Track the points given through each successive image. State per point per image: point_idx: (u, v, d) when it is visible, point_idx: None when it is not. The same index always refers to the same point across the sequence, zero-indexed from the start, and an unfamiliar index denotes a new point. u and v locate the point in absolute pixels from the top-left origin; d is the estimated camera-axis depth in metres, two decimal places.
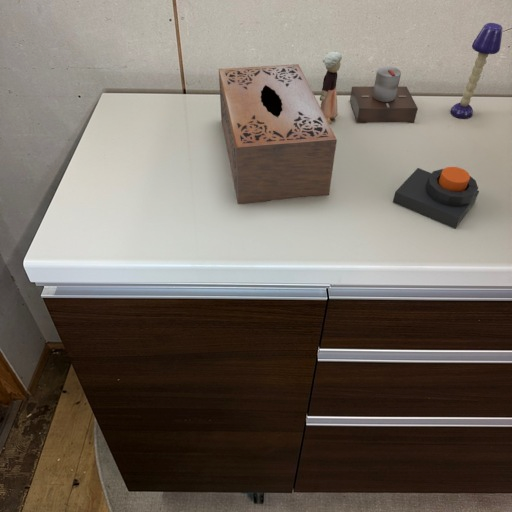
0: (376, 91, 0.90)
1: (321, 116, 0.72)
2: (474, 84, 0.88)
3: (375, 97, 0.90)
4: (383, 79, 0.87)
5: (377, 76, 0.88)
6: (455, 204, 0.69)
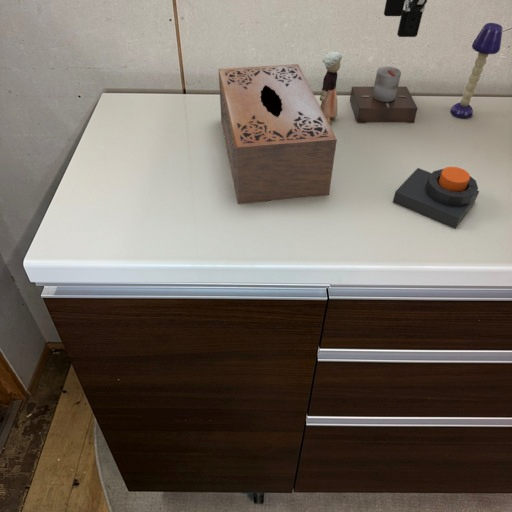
0: (376, 91, 0.90)
1: (321, 116, 0.72)
2: (474, 84, 0.88)
3: (375, 97, 0.90)
4: (383, 79, 0.87)
5: (377, 76, 0.88)
6: (455, 204, 0.69)
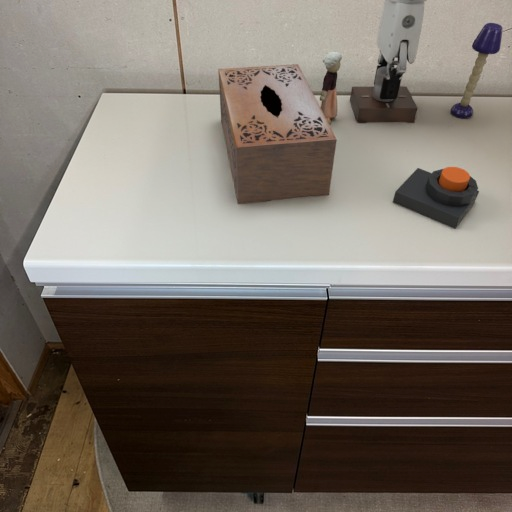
0: (376, 91, 0.90)
1: (321, 116, 0.72)
2: (474, 84, 0.88)
3: (375, 97, 0.90)
4: None
5: (377, 76, 0.88)
6: (455, 204, 0.69)
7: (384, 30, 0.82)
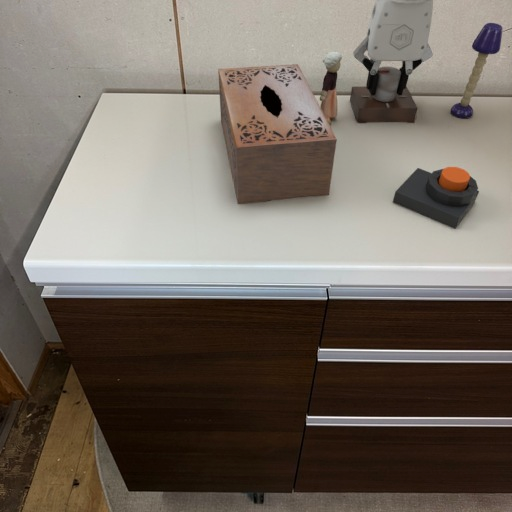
0: None
1: (321, 116, 0.72)
2: (474, 84, 0.88)
3: None
4: None
5: None
6: (455, 204, 0.69)
7: None
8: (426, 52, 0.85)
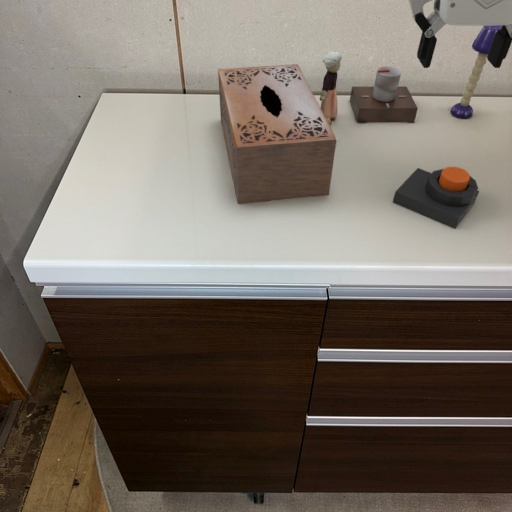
0: None
1: (321, 116, 0.72)
2: (474, 84, 0.88)
3: None
4: None
5: None
6: (455, 204, 0.69)
7: None
8: None
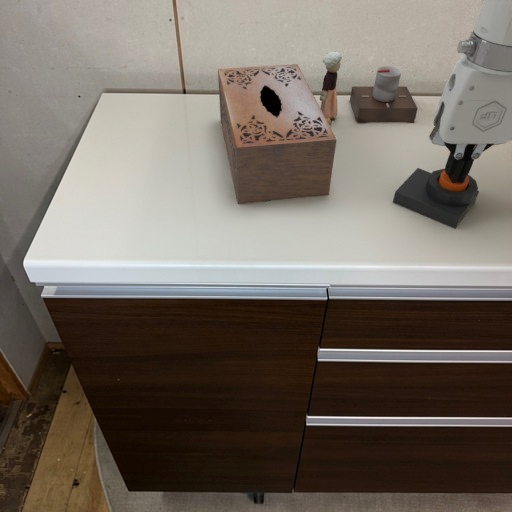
0: None
1: (321, 116, 0.72)
2: None
3: None
4: None
5: None
6: (455, 204, 0.69)
7: None
8: None
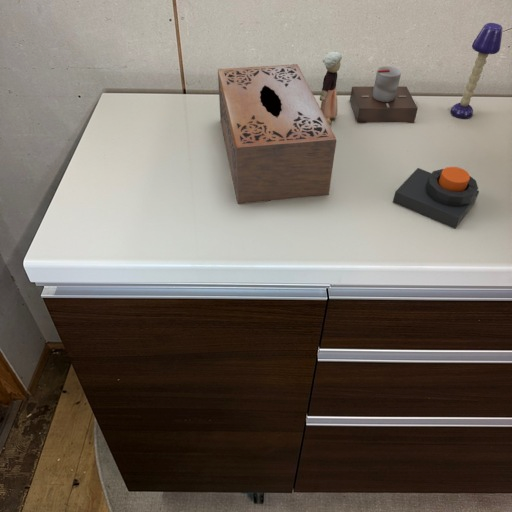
0: None
1: (321, 116, 0.72)
2: (474, 84, 0.88)
3: None
4: None
5: None
6: (455, 204, 0.69)
7: None
8: None
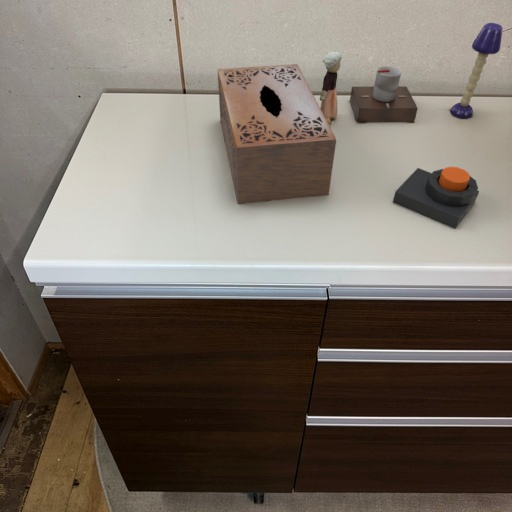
0: None
1: (320, 116, 0.72)
2: (474, 84, 0.88)
3: None
4: None
5: None
6: (455, 204, 0.69)
7: None
8: None
